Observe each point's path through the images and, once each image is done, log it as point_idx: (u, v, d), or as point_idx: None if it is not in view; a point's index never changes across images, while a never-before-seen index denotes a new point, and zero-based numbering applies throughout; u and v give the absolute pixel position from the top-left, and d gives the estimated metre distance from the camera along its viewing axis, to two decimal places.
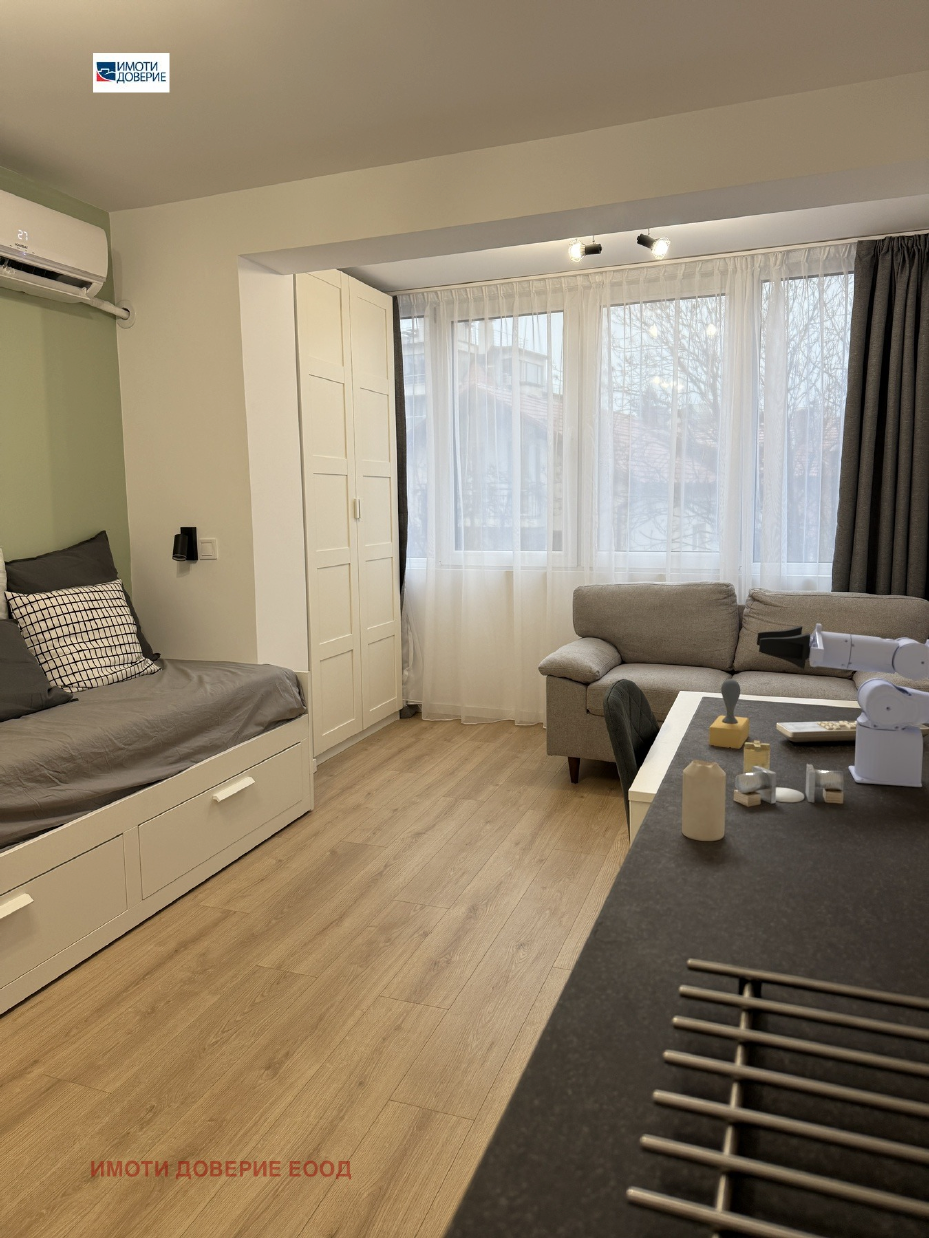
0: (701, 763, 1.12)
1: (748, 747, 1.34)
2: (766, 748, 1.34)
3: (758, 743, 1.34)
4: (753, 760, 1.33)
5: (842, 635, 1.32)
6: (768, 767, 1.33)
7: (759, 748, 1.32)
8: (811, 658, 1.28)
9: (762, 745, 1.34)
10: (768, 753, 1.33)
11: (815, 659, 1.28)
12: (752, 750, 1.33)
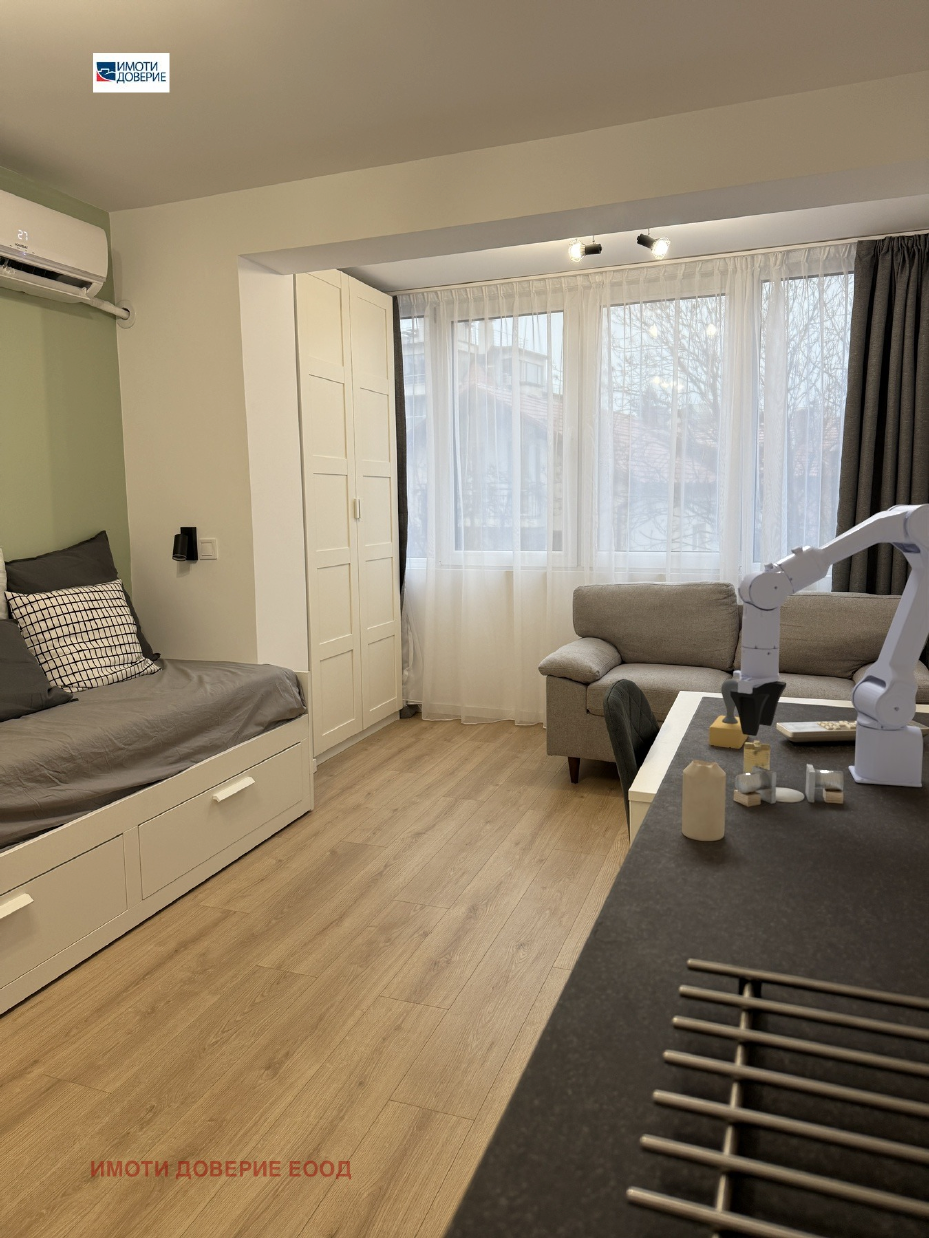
0: (701, 763, 1.12)
1: (748, 747, 1.34)
2: (766, 748, 1.34)
3: (758, 743, 1.34)
4: (753, 760, 1.33)
5: (741, 653, 1.33)
6: (768, 767, 1.33)
7: (759, 748, 1.32)
8: (748, 692, 1.27)
9: (762, 745, 1.34)
10: (768, 753, 1.33)
11: (749, 688, 1.27)
12: (752, 750, 1.33)
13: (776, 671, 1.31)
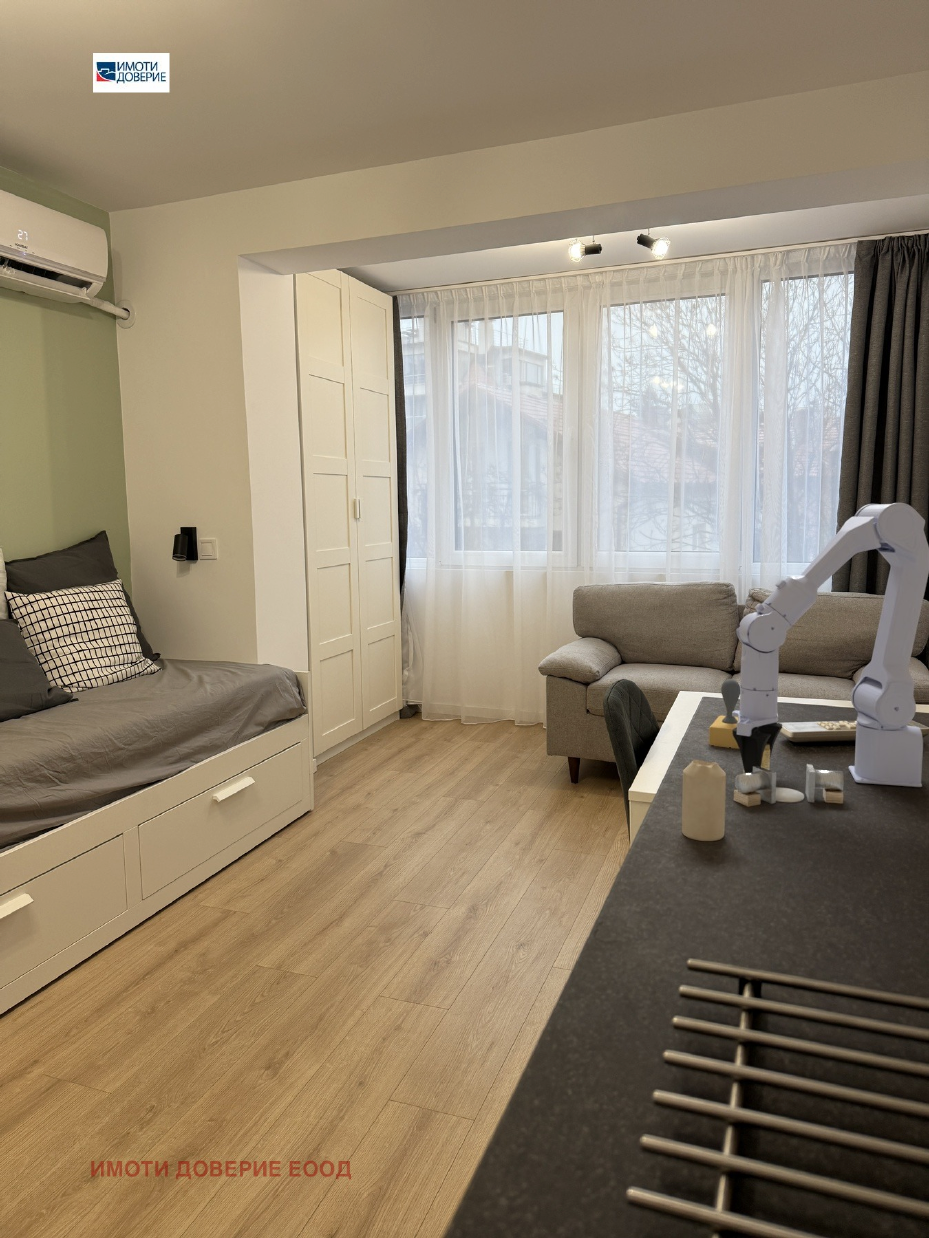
0: (701, 763, 1.12)
1: None
2: (766, 748, 1.34)
3: None
4: None
5: (740, 693, 1.34)
6: (768, 767, 1.33)
7: None
8: (747, 734, 1.28)
9: None
10: (768, 753, 1.33)
11: (747, 730, 1.28)
12: None
13: (775, 712, 1.32)
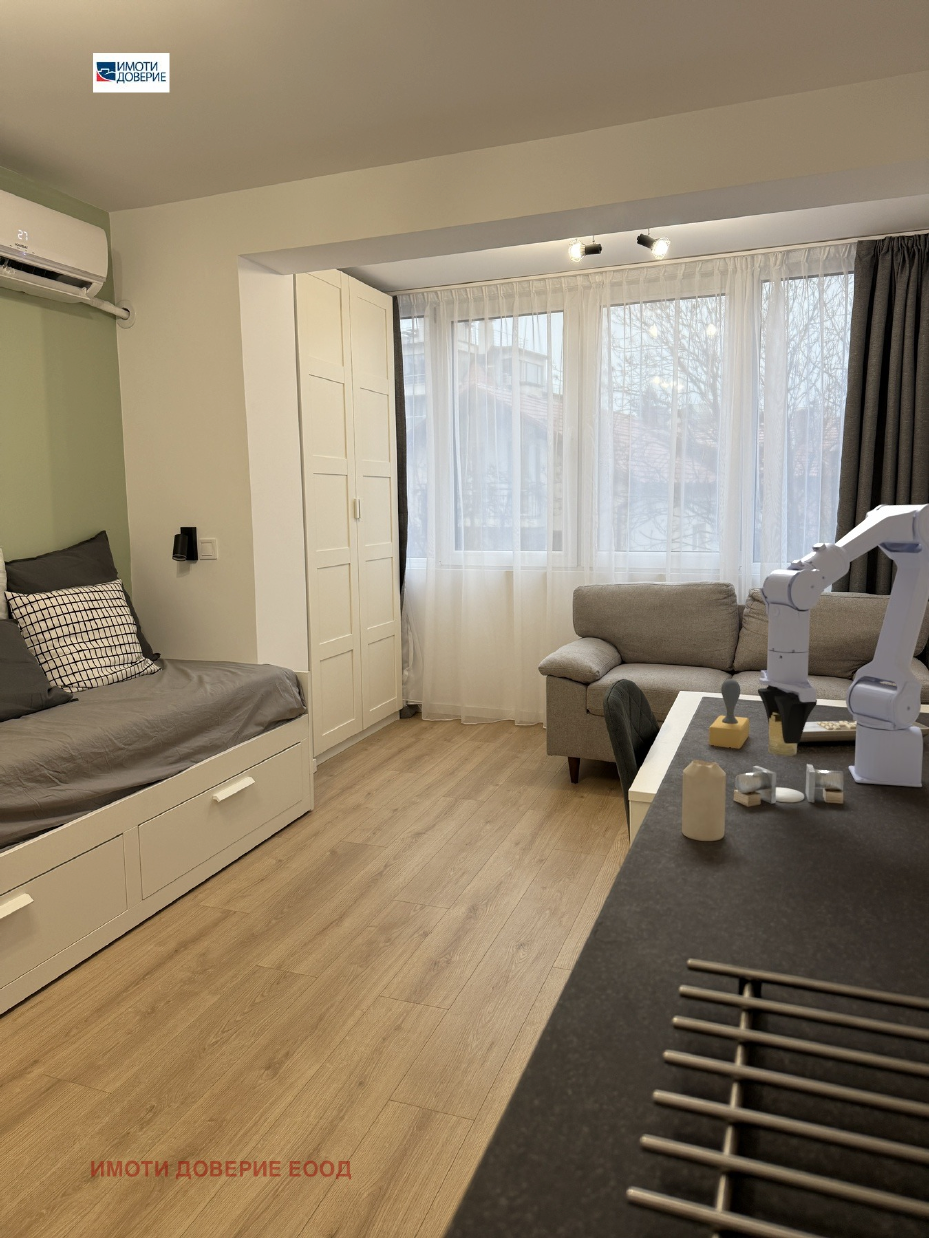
0: (701, 763, 1.12)
1: (778, 719, 1.24)
2: None
3: None
4: None
5: (773, 659, 1.23)
6: None
7: None
8: (813, 700, 1.17)
9: None
10: None
11: (814, 696, 1.17)
12: None
13: None
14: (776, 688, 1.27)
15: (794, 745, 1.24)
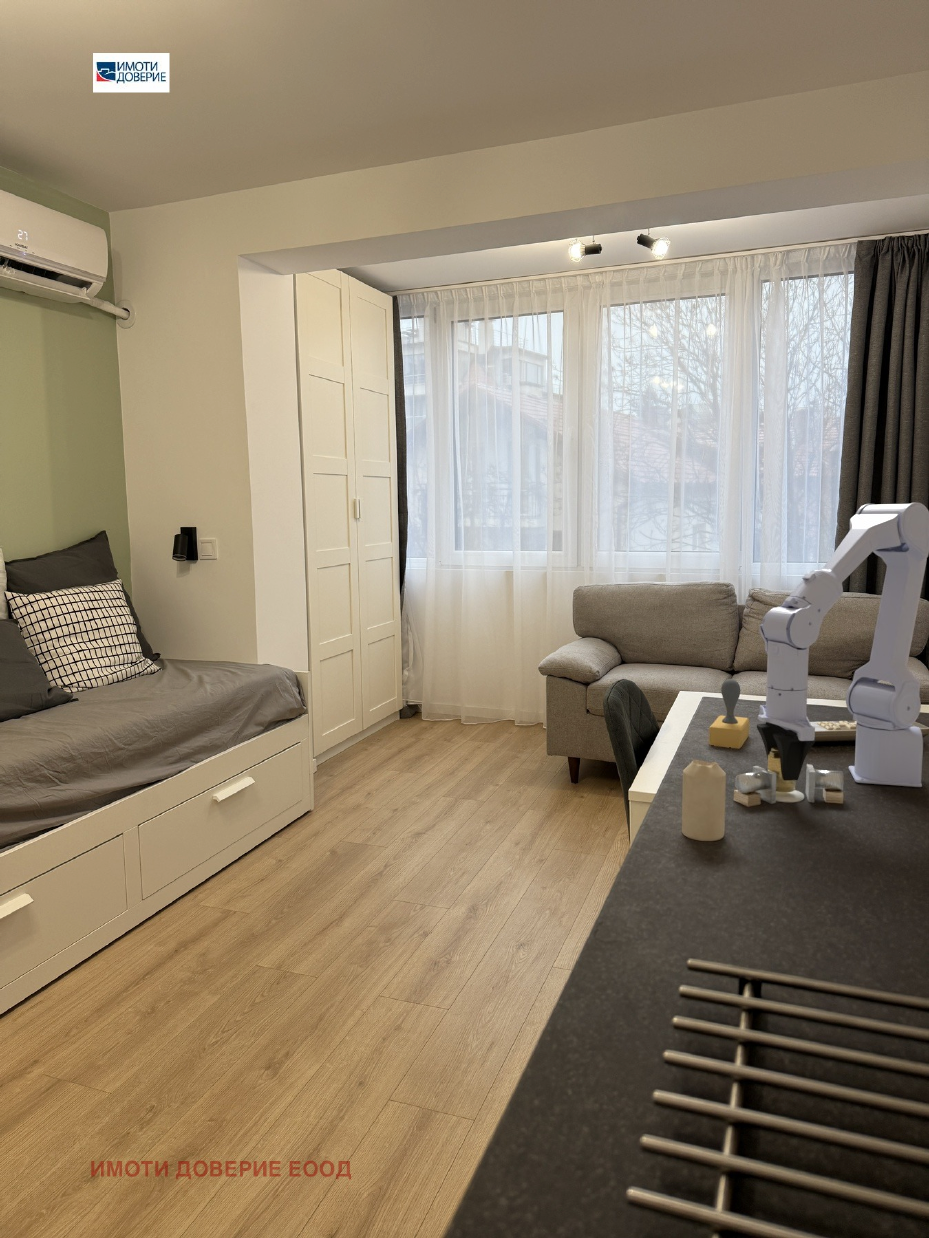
0: (701, 763, 1.12)
1: (776, 756, 1.25)
2: None
3: None
4: None
5: (772, 696, 1.23)
6: None
7: None
8: (812, 739, 1.18)
9: None
10: None
11: (813, 734, 1.18)
12: None
13: None
14: (775, 724, 1.27)
15: (793, 781, 1.24)
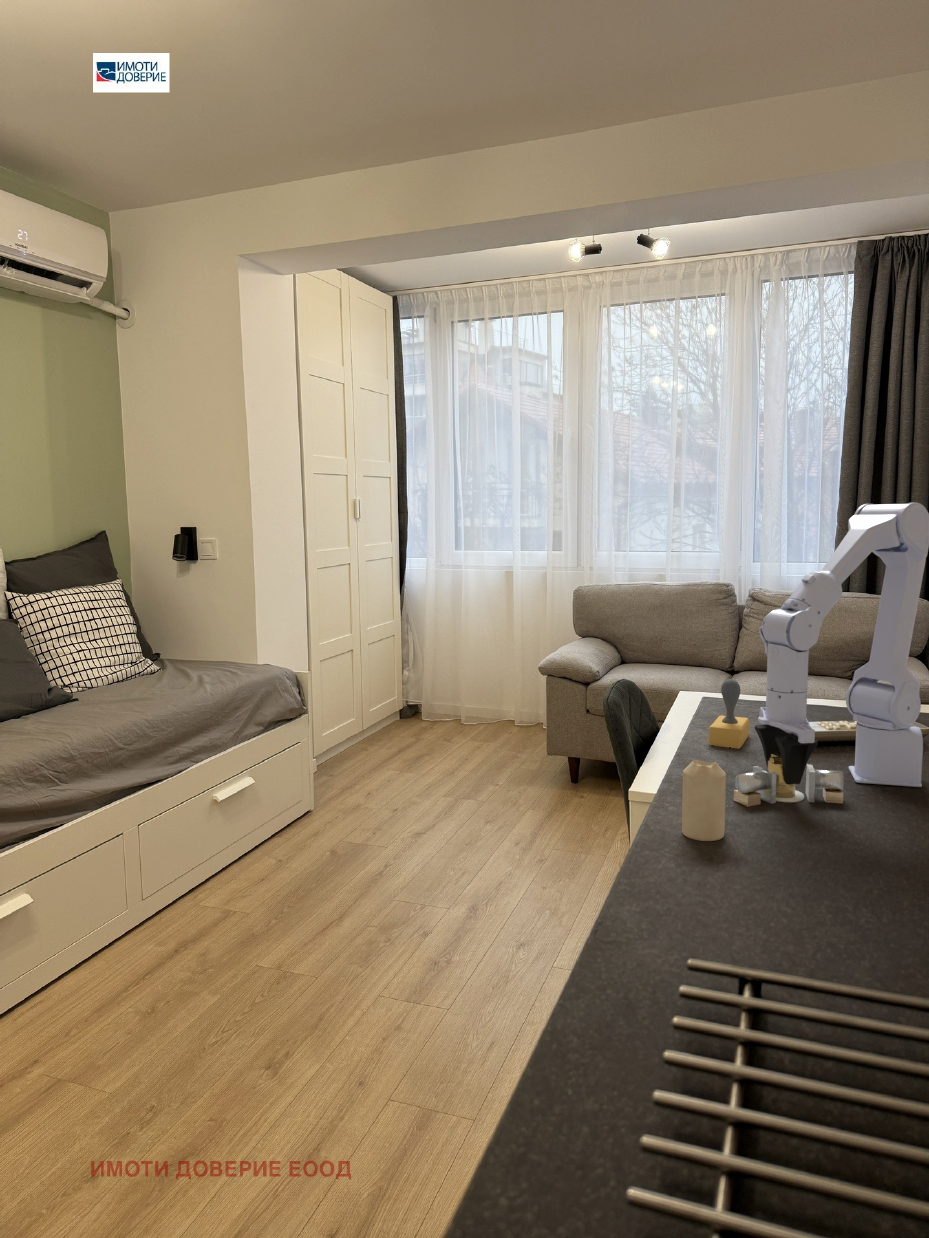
0: (701, 763, 1.12)
1: (776, 762, 1.25)
2: None
3: None
4: None
5: (771, 698, 1.23)
6: None
7: None
8: (812, 741, 1.18)
9: None
10: None
11: (813, 737, 1.18)
12: None
13: None
14: (773, 725, 1.28)
15: (793, 787, 1.25)
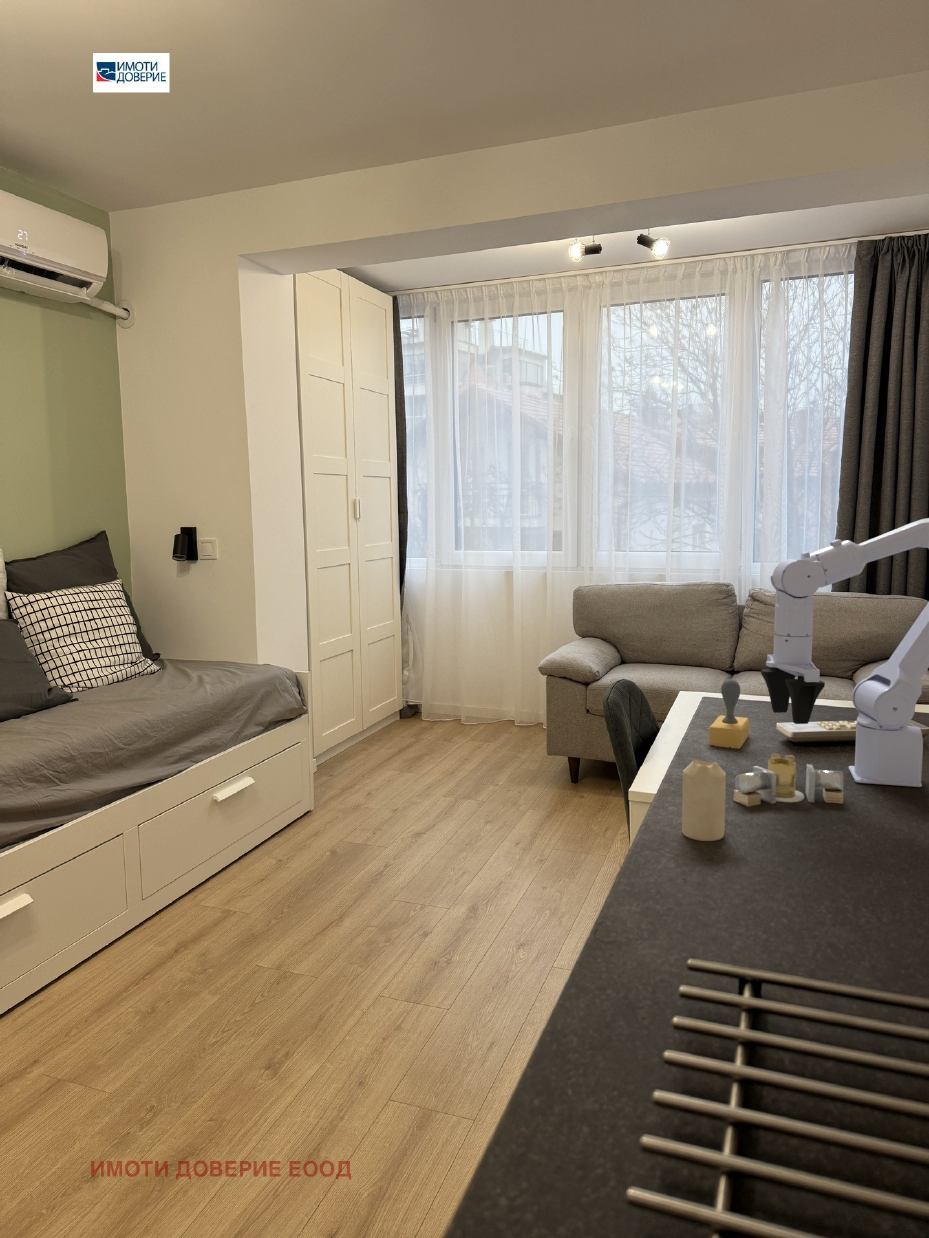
0: (701, 763, 1.12)
1: (776, 762, 1.25)
2: (791, 760, 1.26)
3: (782, 756, 1.26)
4: (787, 775, 1.24)
5: (779, 643, 1.32)
6: None
7: (792, 761, 1.24)
8: (817, 680, 1.26)
9: (788, 757, 1.26)
10: None
11: (818, 676, 1.26)
12: (784, 765, 1.24)
13: None
14: (778, 669, 1.37)
15: (793, 787, 1.25)
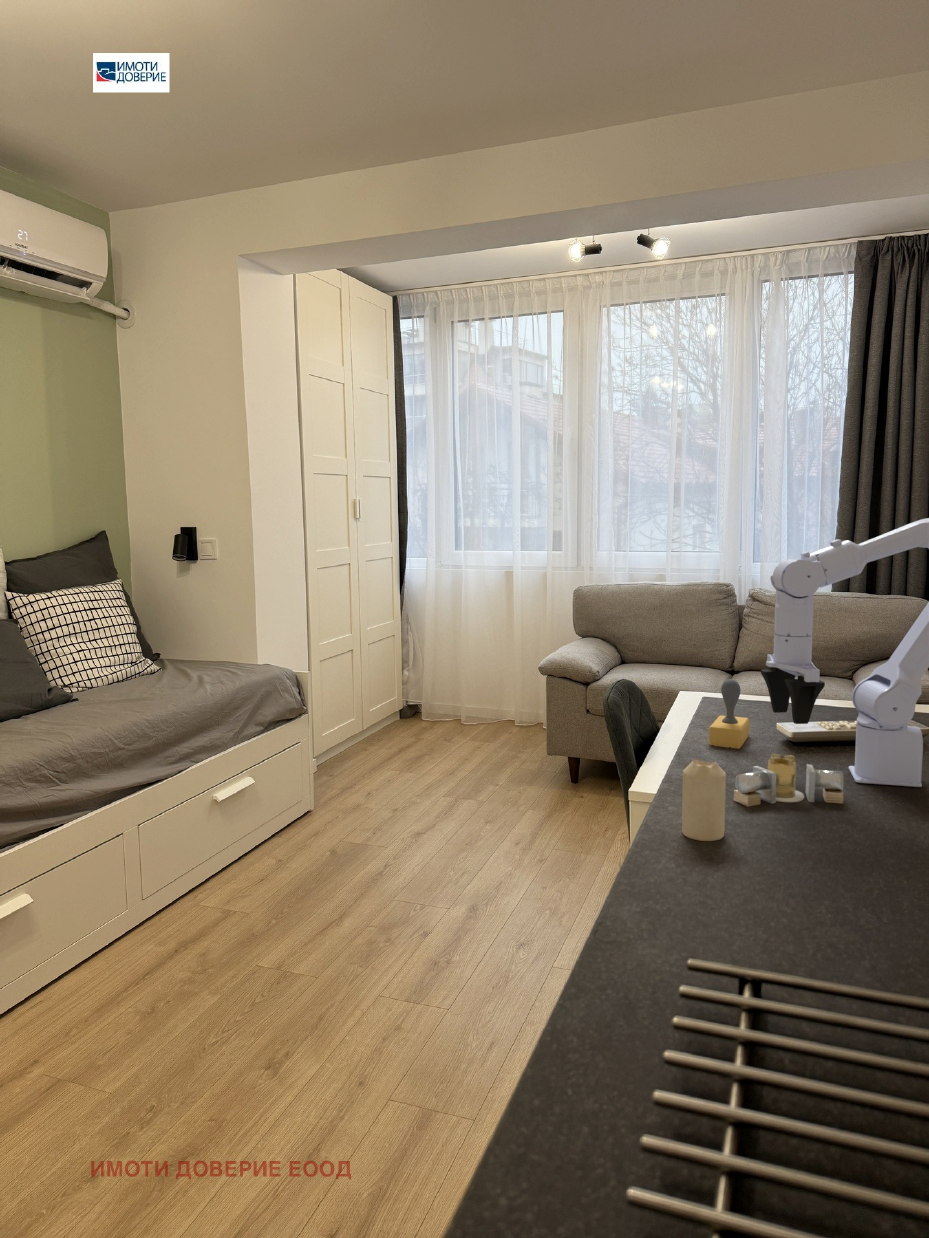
0: (701, 763, 1.12)
1: (776, 762, 1.25)
2: (791, 760, 1.26)
3: (782, 756, 1.26)
4: (787, 775, 1.24)
5: (779, 643, 1.32)
6: None
7: (792, 761, 1.24)
8: (817, 680, 1.26)
9: (788, 757, 1.26)
10: None
11: (818, 676, 1.26)
12: (784, 765, 1.24)
13: None
14: (778, 669, 1.37)
15: (793, 787, 1.25)
